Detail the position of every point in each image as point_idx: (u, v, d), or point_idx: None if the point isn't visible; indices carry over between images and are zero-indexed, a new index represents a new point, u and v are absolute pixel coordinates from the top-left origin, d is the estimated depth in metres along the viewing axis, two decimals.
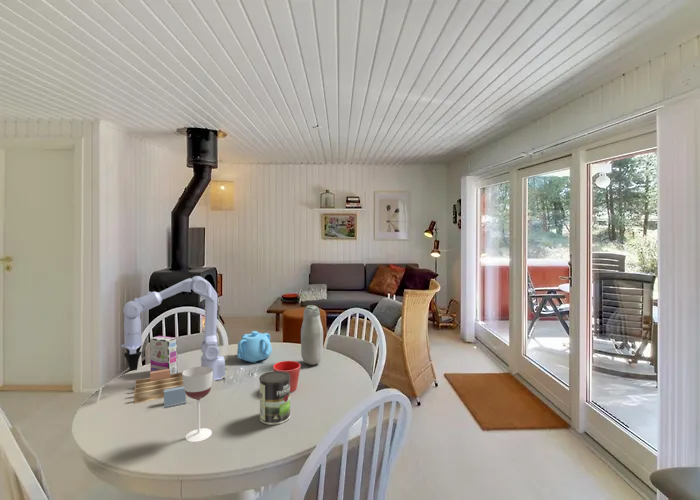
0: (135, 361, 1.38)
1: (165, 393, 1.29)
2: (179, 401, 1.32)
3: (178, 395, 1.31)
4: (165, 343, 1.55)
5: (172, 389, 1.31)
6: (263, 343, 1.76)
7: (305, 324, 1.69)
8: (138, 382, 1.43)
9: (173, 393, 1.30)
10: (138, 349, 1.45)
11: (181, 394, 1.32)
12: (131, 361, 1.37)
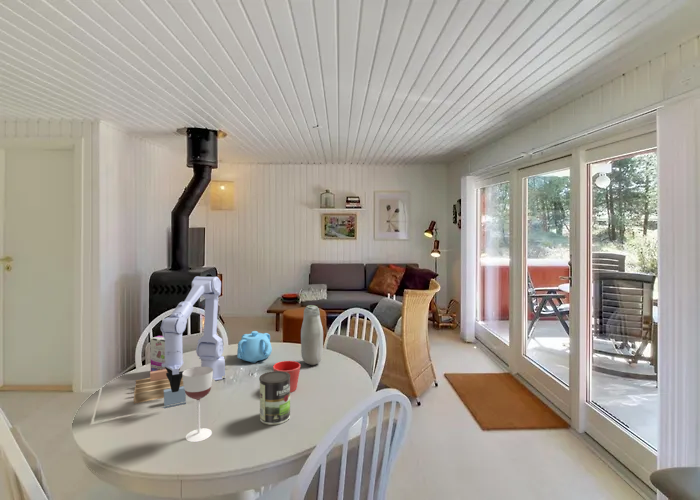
0: (177, 382, 1.28)
1: (165, 393, 1.29)
2: (179, 401, 1.32)
3: (178, 395, 1.31)
4: None
5: None
6: (263, 343, 1.76)
7: (305, 324, 1.69)
8: (138, 382, 1.43)
9: (173, 393, 1.30)
10: (178, 368, 1.35)
11: (181, 394, 1.32)
12: (173, 382, 1.27)
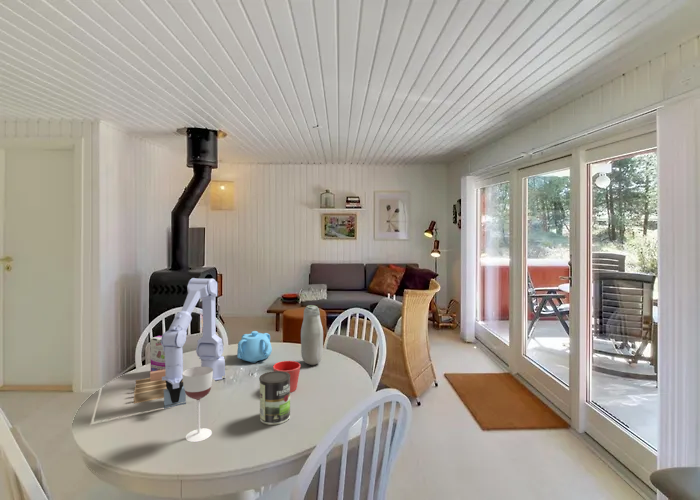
0: (177, 393, 1.30)
1: (165, 393, 1.29)
2: (179, 401, 1.31)
3: None
4: None
5: None
6: (263, 343, 1.76)
7: (305, 324, 1.69)
8: (138, 382, 1.43)
9: None
10: (179, 383, 1.33)
11: (181, 394, 1.32)
12: (173, 393, 1.30)
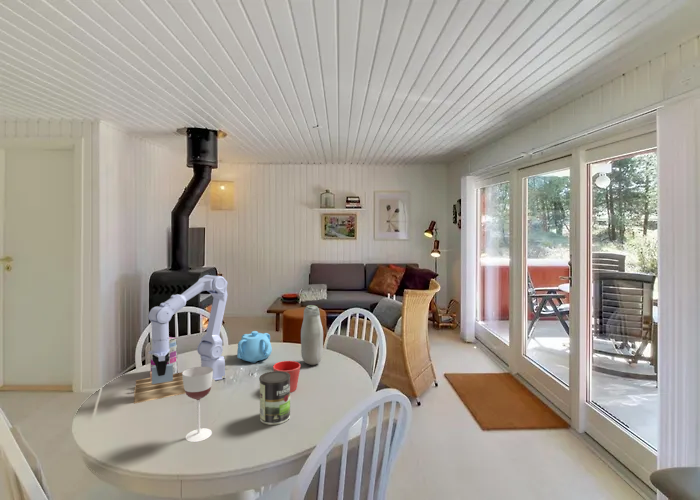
0: (163, 366, 1.36)
1: (153, 369, 1.35)
2: (166, 377, 1.38)
3: (165, 372, 1.37)
4: None
5: None
6: (263, 343, 1.76)
7: (305, 324, 1.69)
8: (138, 382, 1.43)
9: None
10: None
11: (168, 371, 1.38)
12: (159, 366, 1.35)
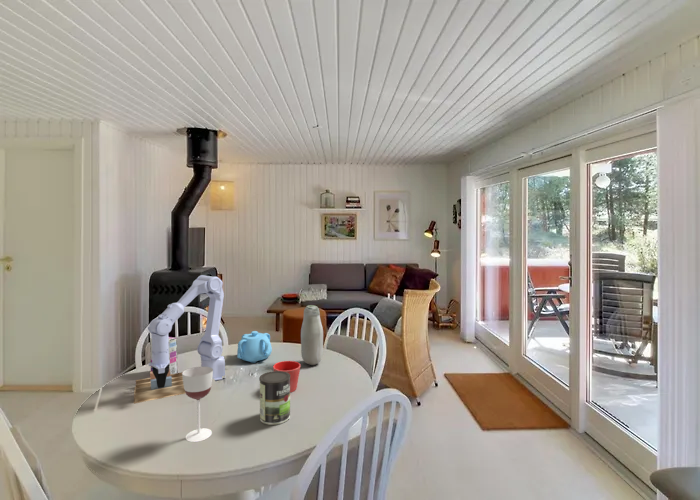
0: (163, 378, 1.36)
1: (152, 382, 1.35)
2: None
3: None
4: None
5: None
6: (263, 343, 1.76)
7: (305, 324, 1.69)
8: (138, 382, 1.43)
9: None
10: (165, 369, 1.40)
11: (167, 383, 1.38)
12: (159, 378, 1.36)
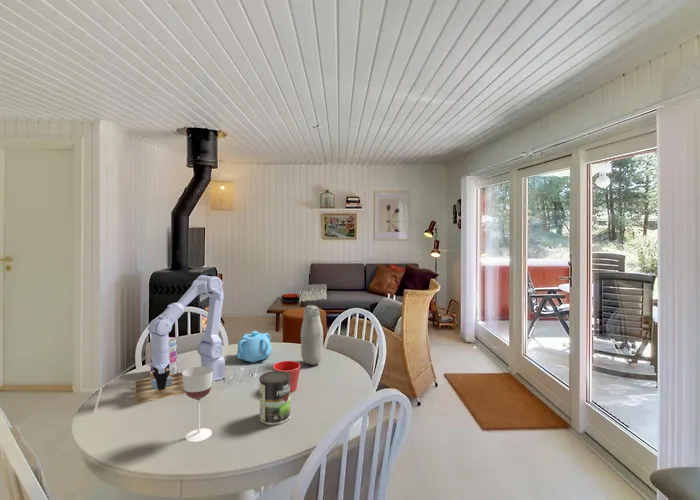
0: (163, 380, 1.34)
1: (152, 382, 1.35)
2: None
3: None
4: None
5: None
6: (263, 343, 1.76)
7: (305, 324, 1.69)
8: (138, 382, 1.43)
9: None
10: None
11: (167, 383, 1.38)
12: (159, 380, 1.34)
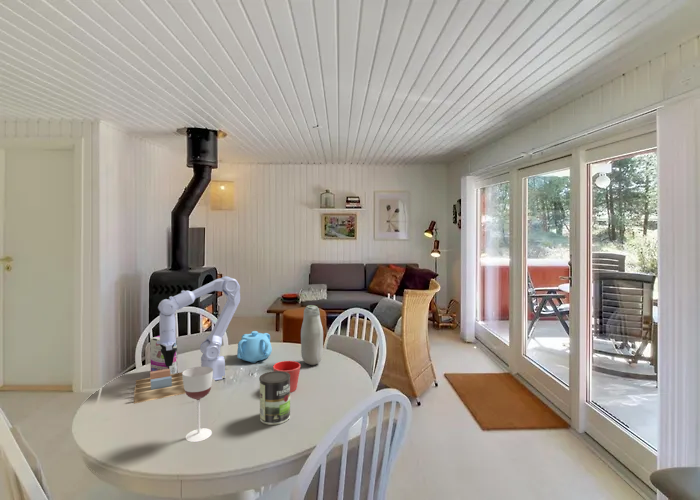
0: (170, 357, 1.43)
1: (152, 382, 1.35)
2: None
3: (164, 384, 1.38)
4: None
5: (159, 379, 1.37)
6: (263, 343, 1.76)
7: (305, 324, 1.69)
8: (138, 382, 1.43)
9: (160, 382, 1.37)
10: (172, 346, 1.50)
11: (167, 383, 1.38)
12: (167, 357, 1.42)
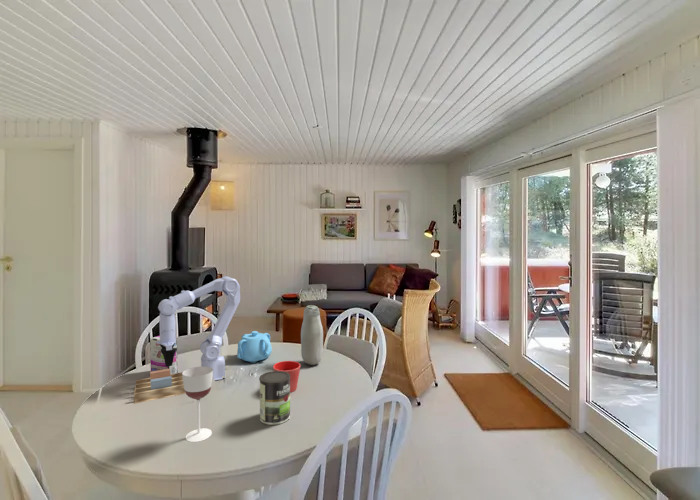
0: (170, 357, 1.43)
1: (152, 382, 1.35)
2: None
3: (164, 384, 1.38)
4: None
5: (159, 379, 1.37)
6: (263, 343, 1.76)
7: (305, 324, 1.69)
8: (138, 382, 1.43)
9: (160, 382, 1.37)
10: (172, 346, 1.50)
11: (167, 383, 1.38)
12: (167, 357, 1.42)
